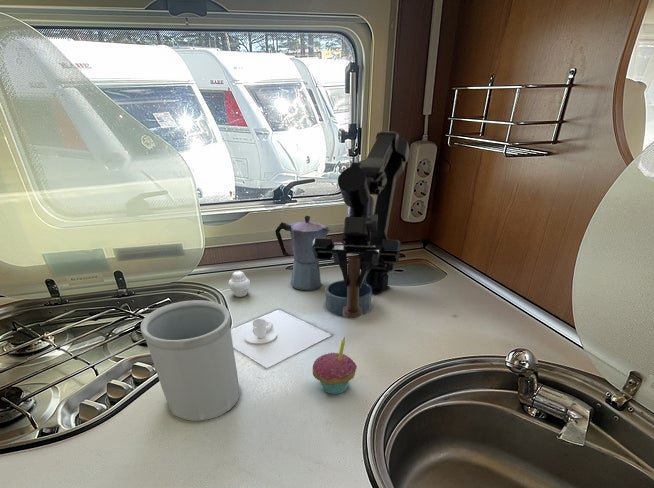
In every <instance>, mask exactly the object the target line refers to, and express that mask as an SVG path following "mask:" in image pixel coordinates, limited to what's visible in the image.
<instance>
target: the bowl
mask: <svg viewBox="0 0 654 488" xmlns="http://www.w3.org/2000/svg"><path fill="white" fill-rule="evenodd" d="M372 298H373V293H372V288H371V286H370V285H368V284H367V283H364V282H363V284H362V286H361V288H359V305H358V306H360V307H361V308H362V315H365V314H367V313H368V312H369V311H370V310H371V308H372V300H373V299H372ZM345 306H347V287H345V283H344V279H343V280H337V281H333V282H330V283H329V284H328V285H327V286H325V308H326V310H327V311H328V312H330V313H331V314H333V315H336V316H341V317H345V316H344V315H343V308H344V307H345Z"/></svg>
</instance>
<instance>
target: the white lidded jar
mask: <svg viewBox="0 0 654 488" xmlns="http://www.w3.org/2000/svg"><path fill="white" fill-rule="evenodd" d="M228 287H229V289H230V290H231V292H232V294H234V296H235V297H237V298H238V297H239V298H242V297H245V296H247V294H248V292H249V289H250V287H251V281H250V279H249V278H248V277H247V276H246V275H245V273H244V272H243V271H242V270H241V271H240V270H238V271H234V272H233V273H232V274H231V278H230V279H229V280H228Z"/></svg>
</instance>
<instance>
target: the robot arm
mask: <svg viewBox="0 0 654 488" xmlns="http://www.w3.org/2000/svg"><path fill="white" fill-rule="evenodd" d="M409 157H410V145H409V142H408V140H406V139H404V138H402V137H400V135H399V132H396V131H385V130H384V131H383V130H381V131H379V132H377V133H376V137H375V141H374V143H373V145H372V146H371V149H370V151H369V152H368V154H367V156H366V158H365V159H363V160H359V161H357V162H354V161H352V162H351V164H350V166H349V167H346V168H345V169H343V170H342V172H340V174H339V175H338V178H337V185H338V188H339V191H340V194H341V197H342V199H343V202H344V204H345V205H346V207H347V208H346V216H344V218H343V229H342V241H343V242H333V239H332V237H330V236H329V237H328V236H326V237H316V238H315V239H314V240H313V243H312V249H313V253H314V256H315V259H317V260H318V261H330V260H332V259H333V263H334V264H336V265H338V266H339V268H340V271H341V274H342V278H343V280H344V283H345V287H347V285H348V257H347V255H358V256H359V257H360V258H361V261H360V277H359V288H361V286H362V284H363V282H364V283H367V284H368V285H370V286H371V288H372V294H374V295H379V294H381V293H382V292H384V291H386V290H388V289H390V285H389V274H388V273H390V272H391V271H394V264H397V263H399V260H400V254H401V241H400V240H399V239H393V238H392V239H391V238H390V239H389V237H388V231H389V224H390V219H391V213H392V207H393V202H394V195H395V189H396V183H397V180H398V179H399V178H400V177H401V175H402V174H403V173H404V171H405V168H406V163H408V161H409ZM372 195H374V196H376V198H375V199H374V198H373V196H372ZM374 203H375V205H374Z"/></svg>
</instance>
